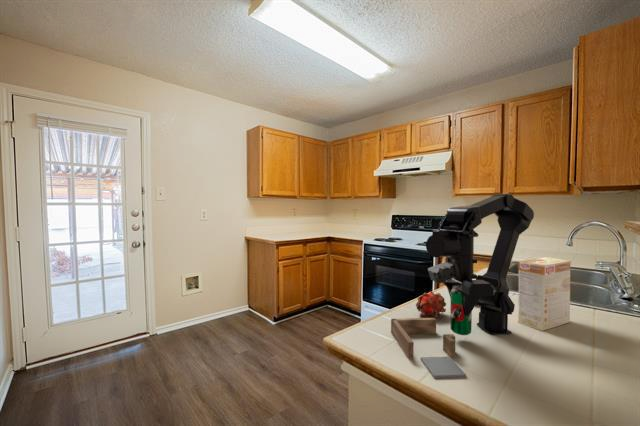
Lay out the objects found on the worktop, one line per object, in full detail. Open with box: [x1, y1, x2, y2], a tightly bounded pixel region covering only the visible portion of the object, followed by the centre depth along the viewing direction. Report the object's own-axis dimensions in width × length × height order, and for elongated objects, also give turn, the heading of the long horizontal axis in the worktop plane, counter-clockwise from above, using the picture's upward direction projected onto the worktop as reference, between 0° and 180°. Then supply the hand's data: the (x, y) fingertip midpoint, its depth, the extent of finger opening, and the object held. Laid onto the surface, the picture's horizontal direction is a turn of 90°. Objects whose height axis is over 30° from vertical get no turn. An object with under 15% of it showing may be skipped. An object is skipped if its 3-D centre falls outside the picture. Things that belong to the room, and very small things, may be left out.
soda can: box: [449, 286, 473, 336], centre depth 74 cm, size 5×5×12 cm
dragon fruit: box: [415, 290, 447, 319], centre depth 91 cm, size 8×8×12 cm
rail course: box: [390, 317, 456, 360], centre depth 72 cm, size 13×14×4 cm
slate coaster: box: [420, 356, 467, 379], centre depth 61 cm, size 7×7×1 cm
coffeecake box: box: [517, 256, 571, 332], centre depth 85 cm, size 15×7×20 cm, turn 113°
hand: (460, 311), depth 74 cm, fingers closed on soda can, 5 cm apart
